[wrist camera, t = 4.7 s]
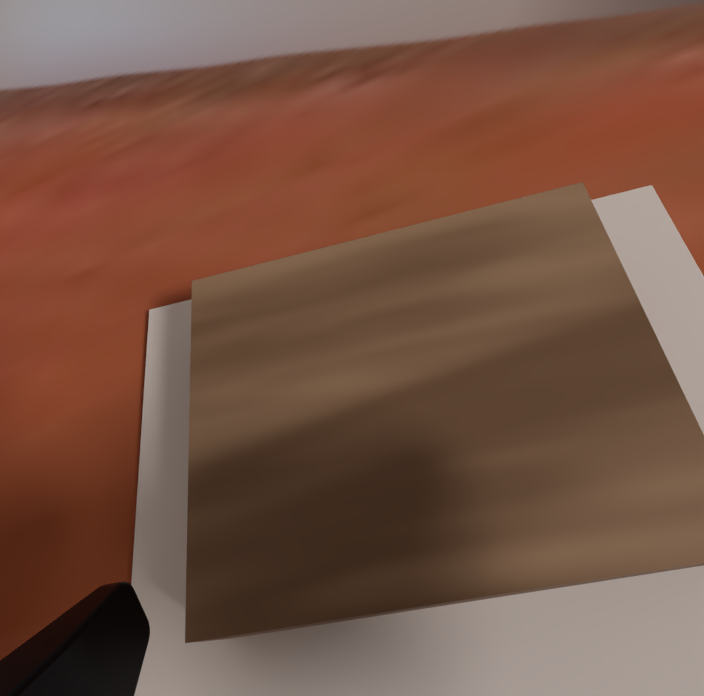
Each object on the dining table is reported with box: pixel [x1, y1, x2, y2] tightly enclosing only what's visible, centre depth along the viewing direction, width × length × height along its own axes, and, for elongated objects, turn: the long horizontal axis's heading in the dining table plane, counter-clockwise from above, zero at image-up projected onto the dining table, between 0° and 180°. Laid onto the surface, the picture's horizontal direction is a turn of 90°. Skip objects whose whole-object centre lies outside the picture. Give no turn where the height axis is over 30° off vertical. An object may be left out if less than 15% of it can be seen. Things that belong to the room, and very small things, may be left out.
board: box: [185, 182, 704, 643], centre depth 14 cm, size 2×12×10 cm
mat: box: [131, 185, 704, 696], centre depth 15 cm, size 16×18×1 cm
